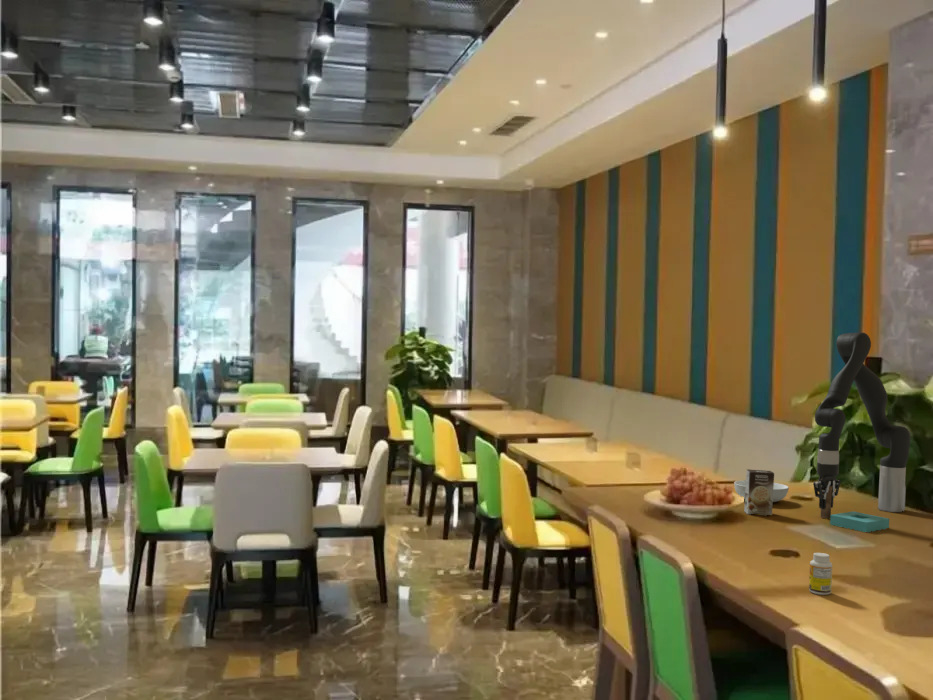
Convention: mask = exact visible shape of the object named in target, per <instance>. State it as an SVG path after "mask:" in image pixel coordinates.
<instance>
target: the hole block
mask: <svg viewBox="0 0 933 700" xmlns="http://www.w3.org/2000/svg"><path fill="white" fill-rule="evenodd" d="M830 524H831V525H830ZM829 525H830V526H834V525H835V527H841V528H843V527H844V529H848V528H849V529H848V530H852V529H854V530H853V531H857V530H858V531H857V532H861V531H862V533H865V532H867V533H871V531H872V532H877V531H876V530H878V531H882V530H881V529H883V530H887V529H886V528H890V518H887V517H883V516H878V515H873V514H868V513H863V512H858V511H848V512H847V511H846V512H840V513H836V514H834V513H833V514H831V516H830V519H829Z"/></svg>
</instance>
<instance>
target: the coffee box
mask: <svg viewBox="0 0 933 700" xmlns="http://www.w3.org/2000/svg"><path fill="white" fill-rule="evenodd" d="M745 480H746V490H745V498H744V506H743V508H744V509H743V510H744V513H745V514H747V515H751V514H760V515H759V516H767V515H772V516H773V503H774V502H773V486H774V483H775V472H773V471H771V470H762V469H750V468H749V469H747V468H746V477H745Z"/></svg>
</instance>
